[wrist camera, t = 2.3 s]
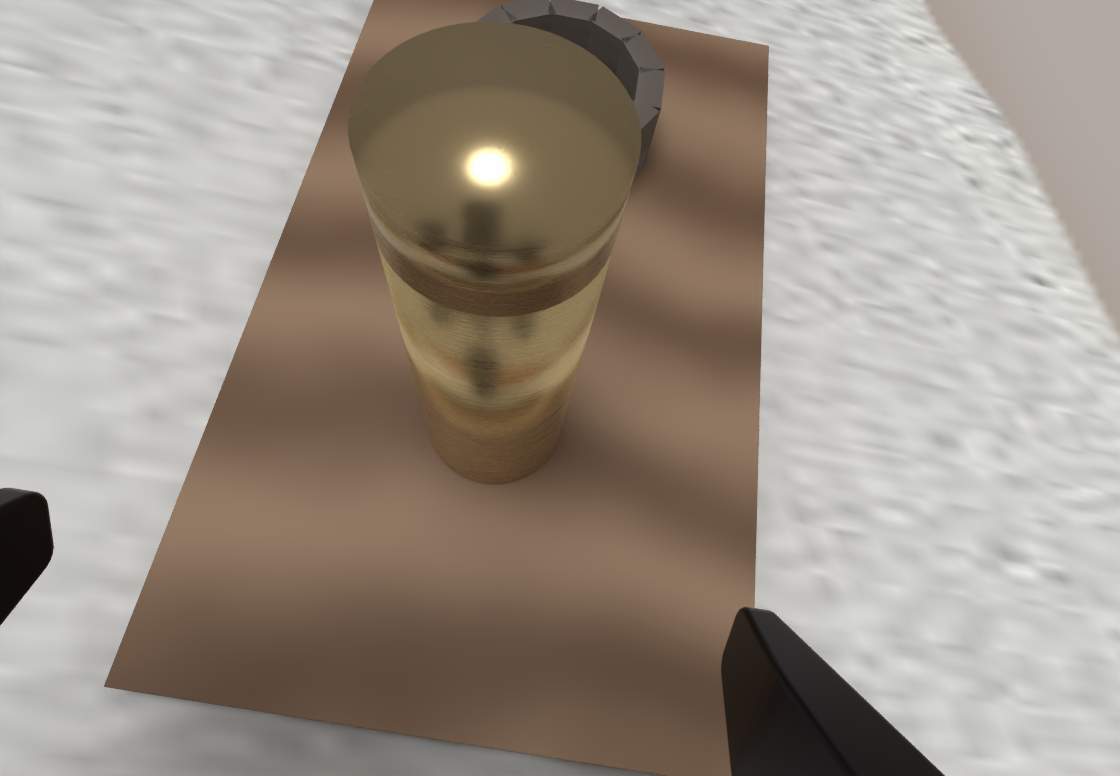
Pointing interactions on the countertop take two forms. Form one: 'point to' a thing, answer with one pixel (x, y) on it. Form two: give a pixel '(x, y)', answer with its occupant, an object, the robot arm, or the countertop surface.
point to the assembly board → (483, 509)
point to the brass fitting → (494, 225)
